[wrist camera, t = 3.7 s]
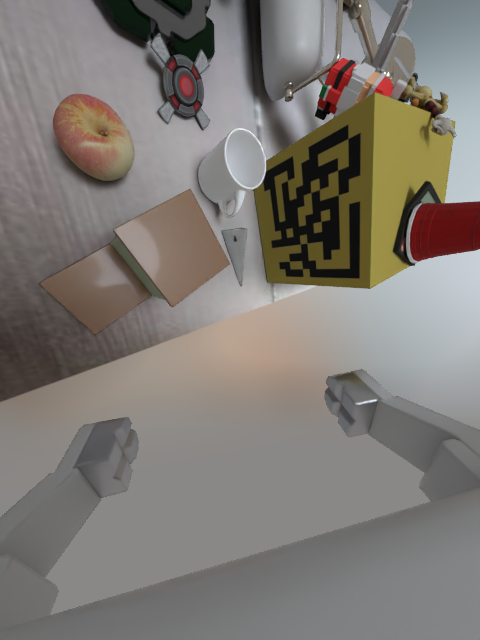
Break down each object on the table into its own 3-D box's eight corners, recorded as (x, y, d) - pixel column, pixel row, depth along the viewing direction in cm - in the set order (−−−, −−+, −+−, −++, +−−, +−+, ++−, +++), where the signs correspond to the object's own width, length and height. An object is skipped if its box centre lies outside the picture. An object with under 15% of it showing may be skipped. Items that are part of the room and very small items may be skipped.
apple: (46, 153, 29) (34, 119, 23) (80, 103, 30) (77, 58, 24) (112, 200, 34) (117, 184, 28) (139, 157, 35) (150, 131, 29)
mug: (199, 220, 43) (226, 207, 34) (195, 151, 40) (223, 118, 31) (234, 224, 48) (266, 213, 39) (232, 163, 45) (266, 137, 36)
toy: (129, 73, 31) (131, 71, 30) (178, 2, 30) (182, -2, 29) (187, 152, 40) (190, 152, 40) (226, 99, 40) (230, 98, 39)
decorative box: (327, 257, 76) (440, 247, 54) (259, 285, 54) (402, 289, 32) (323, 175, 67) (457, 124, 45) (240, 169, 45) (420, 65, 23)
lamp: (324, 56, 63) (235, -99, 34) (423, -11, 49) (413, -379, 20) (322, 160, 71) (247, 104, 42) (407, 129, 56) (382, 10, 27)
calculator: (392, 251, 38) (413, 250, 35) (409, 185, 37) (431, 179, 34) (409, 265, 43) (428, 265, 41) (424, 208, 42) (444, 204, 40)
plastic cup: (496, 275, 30) (401, 273, 40) (521, 244, 34) (428, 248, 44) (510, 195, 26) (399, 215, 36) (538, 168, 29) (429, 193, 39)
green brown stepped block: (40, 280, 31) (7, 285, 19) (159, 214, 38) (190, 188, 26) (96, 332, 36) (99, 363, 24) (191, 266, 44) (230, 263, 32)
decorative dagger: (370, 59, 46) (415, 138, 34) (382, 36, 43) (437, 113, 31) (405, 78, 48) (458, 157, 37) (419, 57, 46) (482, 135, 34)
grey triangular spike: (257, 279, 54) (253, 225, 47) (252, 286, 50) (246, 229, 44) (237, 279, 56) (229, 226, 49) (230, 286, 53) (221, 230, 46)
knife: (327, 168, 61) (409, -25, 32) (332, 168, 61) (417, -25, 32) (328, 180, 60) (415, -12, 31) (333, 180, 60) (424, -11, 31)
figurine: (309, 120, 40) (365, 150, 39) (329, 64, 33) (398, 99, 32) (325, 103, 43) (378, 130, 42) (347, 50, 36) (409, 80, 35)
